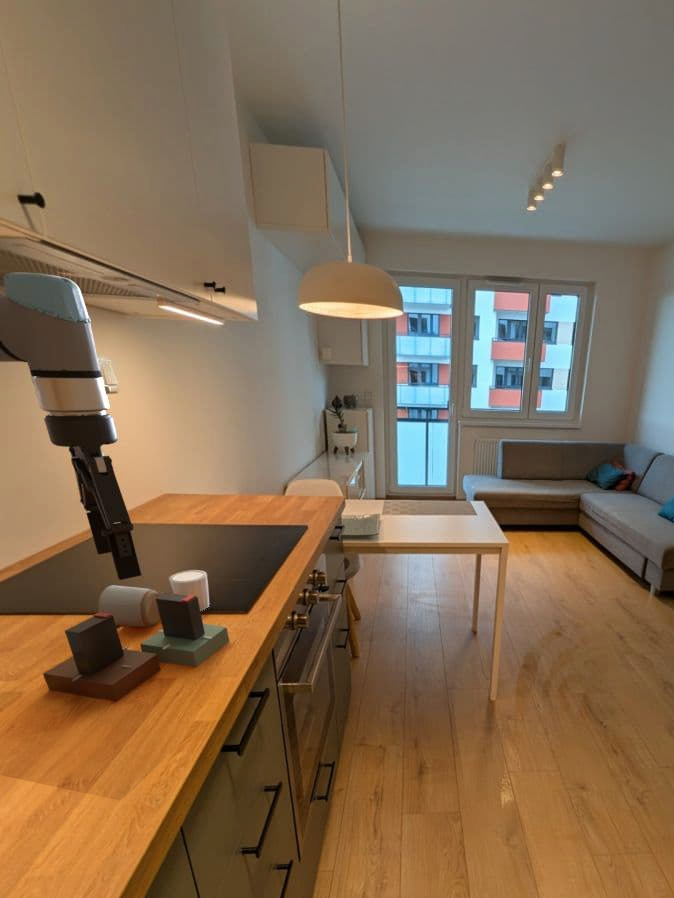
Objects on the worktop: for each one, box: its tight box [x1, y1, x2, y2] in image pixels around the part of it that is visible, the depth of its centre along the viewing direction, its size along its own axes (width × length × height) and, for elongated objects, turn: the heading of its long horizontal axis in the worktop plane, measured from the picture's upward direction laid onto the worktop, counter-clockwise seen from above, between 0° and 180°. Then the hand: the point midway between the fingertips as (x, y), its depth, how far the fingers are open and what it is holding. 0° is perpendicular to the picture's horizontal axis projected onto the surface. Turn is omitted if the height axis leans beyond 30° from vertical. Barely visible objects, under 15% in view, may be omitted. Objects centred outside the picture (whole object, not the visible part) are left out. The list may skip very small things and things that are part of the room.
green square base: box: [139, 620, 230, 668], centre depth 87 cm, size 10×10×3 cm
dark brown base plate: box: [42, 645, 162, 702], centre depth 79 cm, size 12×10×3 cm
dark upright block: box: [156, 592, 205, 640], centre depth 85 cm, size 6×2×7 cm, turn 78°
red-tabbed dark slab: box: [64, 611, 124, 674], centre depth 77 cm, size 6×2×7 cm, turn 167°
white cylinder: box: [168, 569, 211, 613], centre depth 102 cm, size 7×7×7 cm
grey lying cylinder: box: [97, 584, 161, 628], centre depth 96 cm, size 11×8×8 cm
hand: (118, 564), depth 76 cm, fingers open, 13 cm apart
